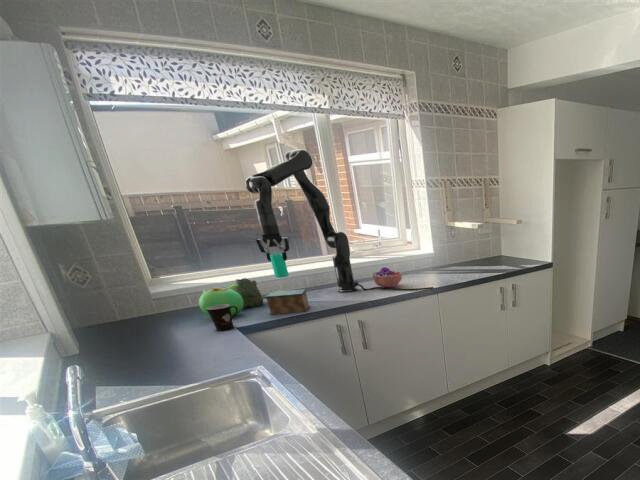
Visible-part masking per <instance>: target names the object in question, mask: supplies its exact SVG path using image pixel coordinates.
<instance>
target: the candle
mask: <svg viewBox="0 0 640 480" xmlns="http://www.w3.org/2000/svg"><path fill="white" fill-rule="evenodd" d="M274 252H275V253H273V254H270V259H271V263H270V264H271V266H272V271H273V274H274V277H275V278H277V279H278V278H280V279H281V278H287V277H289V276H290V275H289V271H288V267H287V263H286V261H284V259H283V255H282V253H277V251H274Z"/></svg>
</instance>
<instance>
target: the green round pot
mask: <svg viewBox="0 0 640 480" xmlns="http://www.w3.org/2000/svg"><path fill="white" fill-rule="evenodd" d="M237 286H238V284H236V283H235V284H232V285H230V286H227V287H212V288H211V289H208V290H207V289H203V290H202V294H200V297H199V299H198V306H199V308H200V310H201V311H202V312H203V313H204V314H206V315H208V316H209V317H210V315H209V313H208V311H207V309H206V308H208V307H210V306H214V305H222V304H228V305H230V307H231V306H235V307H237V309H238V312H237V314H239V313H240V312H241V311H242V310H243V309H242V308H243V305H244V302H243V298H242V297H241V295H240V294H239V293H238V292H236V291H234V290H235V289H236V287H237ZM230 311H231V316H232V317H233V316H234V315H235V313H236V308H234V307H232V308H231V309H230Z"/></svg>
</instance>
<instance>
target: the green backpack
mask: <svg viewBox="0 0 640 480" xmlns="http://www.w3.org/2000/svg"><path fill="white" fill-rule="evenodd" d="M235 282H236V283H235V284H238V286H237V287H236V288H235V289H234V291H236V292H238V293H239V294H240V295H241V297H242V298H243V302H244V305H243V308H242V310H244V309H245V308H247V307H250V308H257V307H260V306H262V305H263V304H264V298H263V296H262V293H261V290H260V289H259V287H258V286H257V285H258V282H257V281H256V280H255V279H254V280H250V279H249V278H247V277H244V278H241V279H237V278H236V279H235Z"/></svg>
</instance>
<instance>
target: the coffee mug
mask: <svg viewBox="0 0 640 480" xmlns="http://www.w3.org/2000/svg"><path fill="white" fill-rule="evenodd" d="M232 307H234V308H236V313H235V315H233V316H231V311H230V309H231V308H232ZM206 309H207V311H208V313H209V315H210V316H209V315H208V316H209V317H210V319H211V321H212V323H213V325H214V327H215V329H216V331H217V332H226V331H230V330H233V329H234V322H233V320H234V319H235V317H236V316H237V314H238V313H237V312H238V309H237V307H235V306H231V307H230V305H228V304H222V305H214V306H210V307H208V308H206Z"/></svg>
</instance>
